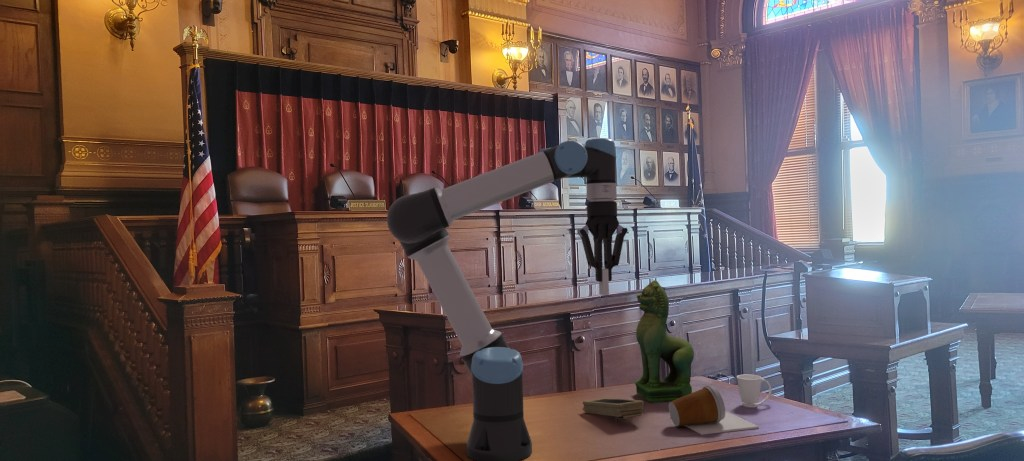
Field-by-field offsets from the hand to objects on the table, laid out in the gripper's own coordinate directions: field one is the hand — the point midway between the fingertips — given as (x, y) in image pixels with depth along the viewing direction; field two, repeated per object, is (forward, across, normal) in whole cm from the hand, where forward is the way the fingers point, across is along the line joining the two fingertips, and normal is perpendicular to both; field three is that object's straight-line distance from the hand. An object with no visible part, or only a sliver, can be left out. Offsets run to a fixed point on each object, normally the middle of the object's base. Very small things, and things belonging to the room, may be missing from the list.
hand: (604, 294), depth 181 cm
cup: (+35, +48, +9) cm, 60 cm away
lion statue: (+35, +29, +26) cm, 52 cm away
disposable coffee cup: (+31, +16, -3) cm, 35 cm away
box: (+35, +5, +12) cm, 37 cm away
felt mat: (+34, +28, -3) cm, 44 cm away
